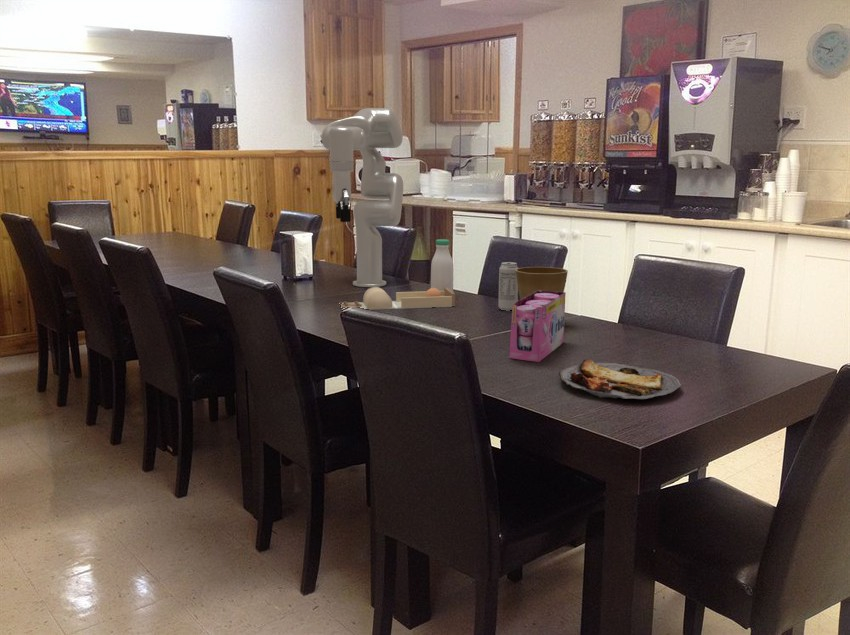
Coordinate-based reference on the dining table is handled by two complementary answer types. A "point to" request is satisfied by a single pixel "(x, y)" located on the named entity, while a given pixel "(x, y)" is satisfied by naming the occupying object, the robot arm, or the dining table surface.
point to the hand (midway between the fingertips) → (343, 219)
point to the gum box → (537, 325)
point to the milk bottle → (442, 267)
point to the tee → (351, 304)
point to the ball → (433, 293)
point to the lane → (405, 300)
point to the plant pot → (540, 280)
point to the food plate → (618, 380)
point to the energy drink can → (507, 285)
